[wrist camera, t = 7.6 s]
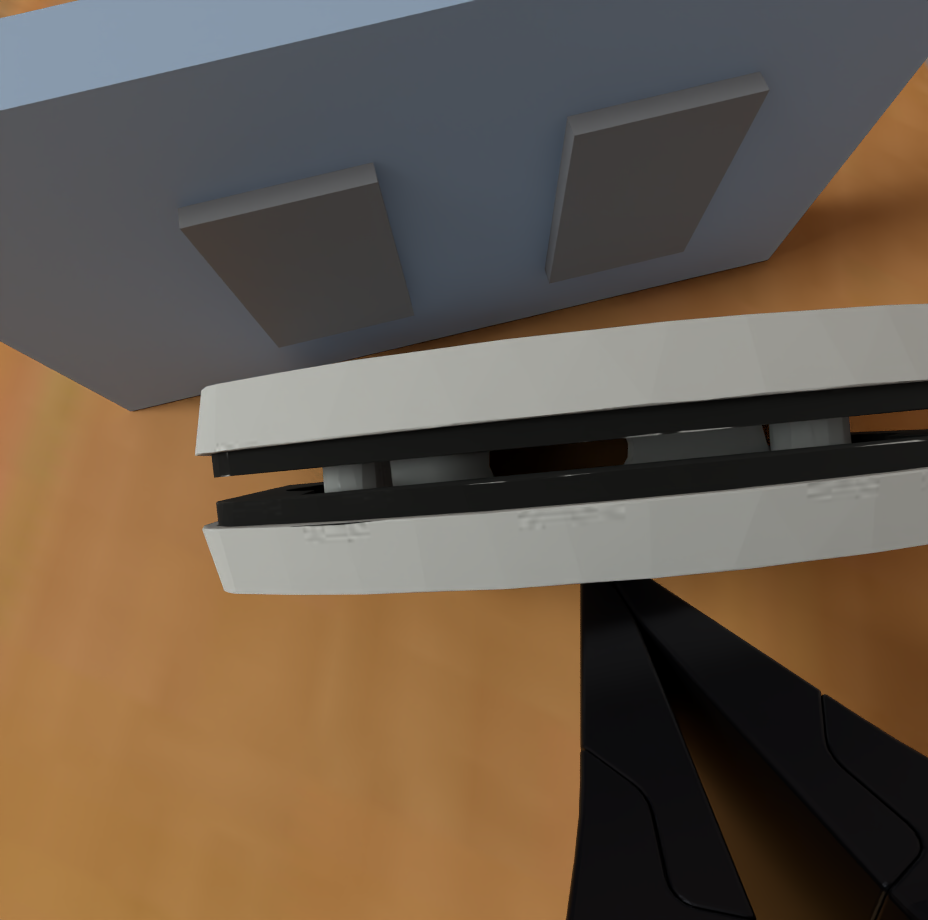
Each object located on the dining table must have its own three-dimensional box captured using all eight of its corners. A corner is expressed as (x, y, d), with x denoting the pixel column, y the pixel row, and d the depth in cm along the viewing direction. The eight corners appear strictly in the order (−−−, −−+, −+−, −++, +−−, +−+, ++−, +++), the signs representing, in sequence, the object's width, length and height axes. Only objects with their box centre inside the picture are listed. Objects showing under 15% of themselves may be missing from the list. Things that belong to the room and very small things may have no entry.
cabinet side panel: (773, 272, 18) (1101, -121, 8) (131, 424, 18) (-305, 205, 8) (746, 211, 18) (1019, -218, 9) (127, 358, 18) (-280, 83, 9)
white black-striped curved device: (802, 336, 17) (1257, 174, 7) (815, 483, 17) (1285, 528, 7) (289, 388, 18) (39, 305, 8) (304, 530, 18) (74, 634, 8)
